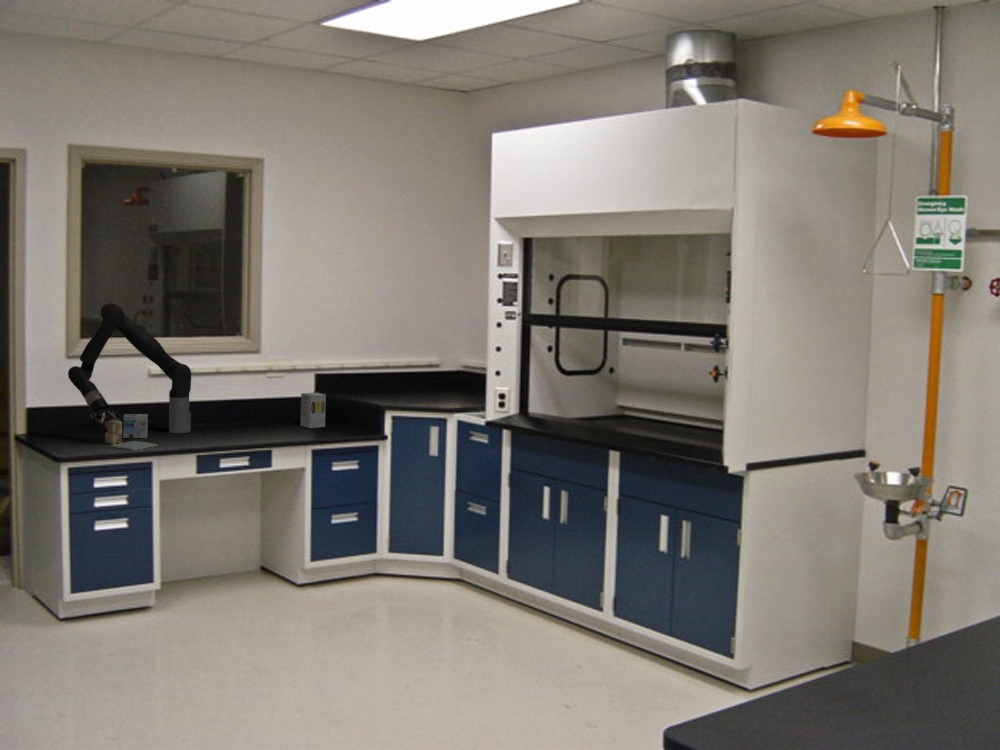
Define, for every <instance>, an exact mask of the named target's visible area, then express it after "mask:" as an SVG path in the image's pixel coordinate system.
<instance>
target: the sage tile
mask: <svg viewBox="0 0 1000 750" xmlns="http://www.w3.org/2000/svg"><path fill="white" fill-rule="evenodd" d="M110 446H111V447H110ZM153 446H157V447H158V443H157V444H156V443H150V442H146V441H145V442H144V441H140V440H139V441H138V440H132V441H126V442H122V443H119V444H113V445H110V444H109V447H110V448H112V447H117V448H116V449H118V448H123V449H122V450H124V449H129V450H128V451H130V450H135V451H138V450H137V449H141V450H144V449H143V448H147V449H149V448H148V447H152V448H154V447H153Z"/></svg>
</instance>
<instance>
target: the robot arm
mask: <svg viewBox="0 0 1000 750" xmlns="http://www.w3.org/2000/svg"><path fill="white" fill-rule="evenodd" d="M100 316H101V318H102V321H101V323H100V326H99V328H98V329H97V330H96V332H95V334H94V335H93V336H92V337H91V338H90V340H89V341H88V342H87V344H86V345H85V347H84V349H83V350H82V352H81V354H80V357H79V360H80V362H81V365H80V366H77V365H75V366H71V367H70V368H69V369H68V370H67V371H68V372H67V376H68V379H69V380H70V382H71V383H72V384H73V385H74V387H76V389H77V390H78V391H79V392H80V393H81V396H82V397H83V399H84V401H85V403H86V404H87V407H88V408H89V409H90V411H91V414H90V415H89V418H90V421H91V422H92V424H93V426H95V427H98V428H100V429H101V431H102V432H103V433H104V434H105V433H106V432H107V431H108V429H107V427H106V426H105V422H106V421H113V420H116V421H122V422H123V417H122V415H121V414H120V412H119V411H118V410H117V409H114V410H111V409H110V405H109V404H108V402H107V401H106V399H105V397H104V396H103V394H102V392H100V391H99V389H98V387H97V386H96V384H95V383H94V382H92V381H91V377H92V376H93V373H94V370H95V369H94V368H95V365H96V363H97V360H98V358H99V356H100V355H101V353H102V351H103V350H104V347H105V346H106V344H107V342H108V341H109V339H110V338H111V336H112V335H113V334H114V332H115V331H116V330H117V331H119V332H120V333H121V335H123V337H125V339H126V340H127V341H128V342H129V343H130V344H131V346H132V347H134V348H135V349H136V350H137V351H138V352H139V353H141V354H142V355H143V356H144V357H145V358H147V359H148V360H149V361H150V362H152V363H154V364H155V366H157V367H159V368H160V370H161V371H162V372H163V373H164V374H165V375H166V376H167V378H169V379H170V381H171V388H170V390H169V393H168V407H169V408H168V410H169V411H168V412H169V414H168V418H169V419H168V423H169V424H168V431H169V432H168V433H171V434H185V433H186V434H187V433H190V432H191V430H192V428H191V424H192V420H191V419H192V413H191V411H190V393H191V389H192V387H191V386H192V371H191V369H190V367H189V366H188V365H187V364H185V363H182V362H179V361H177V359H175V358H173V357H172V356H171V355H170V354H169V353H167V352H166V350H165V348H164V347H163V346H162V344H161V343H160V342H159V341H158V340H157V339H156V338H155V337H154V336H152V334H151V333H149V332H148V331H147V330H145V329H144V328H143V327H141V326H140V325H138V324H137V323H135V322H134V321H132V320H131V319H130V318H129V316H127V315H126V314H125V312H124V309H123V308H122V307H121V306H119V305H117V304H115V303H106V304H104V305H103V306H102V307H101V309H100ZM122 430H123V424H122Z"/></svg>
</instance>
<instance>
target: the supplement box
mask: <svg viewBox="0 0 1000 750" xmlns="http://www.w3.org/2000/svg"><path fill="white" fill-rule="evenodd" d="M300 395H301V396H300V426H301V427H304V428H309V429H314V428H325V427H326V404H327V403H326V399H327V398H326V397H327V395H326V394H325V393H320V392H308V393H307V392H305V393H304V392H302V393H301V394H300Z"/></svg>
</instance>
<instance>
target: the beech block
mask: <svg viewBox="0 0 1000 750" xmlns="http://www.w3.org/2000/svg"><path fill="white" fill-rule="evenodd" d="M104 424H105V426H106V427H107V429H108V431H107V432H106V433H104V436H105V437H104V441H105V443H110V444H116V443H123V429H122V425H123V420H122V421H117V420H113V421H105V422H104ZM110 444H109V445H110Z"/></svg>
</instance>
